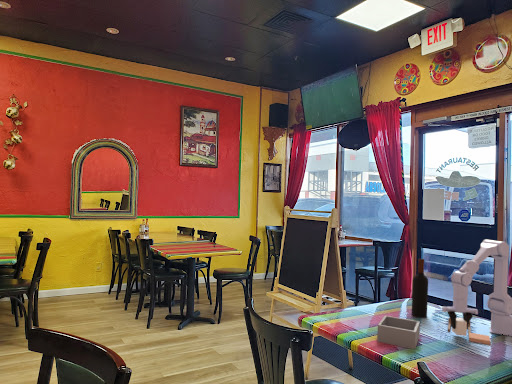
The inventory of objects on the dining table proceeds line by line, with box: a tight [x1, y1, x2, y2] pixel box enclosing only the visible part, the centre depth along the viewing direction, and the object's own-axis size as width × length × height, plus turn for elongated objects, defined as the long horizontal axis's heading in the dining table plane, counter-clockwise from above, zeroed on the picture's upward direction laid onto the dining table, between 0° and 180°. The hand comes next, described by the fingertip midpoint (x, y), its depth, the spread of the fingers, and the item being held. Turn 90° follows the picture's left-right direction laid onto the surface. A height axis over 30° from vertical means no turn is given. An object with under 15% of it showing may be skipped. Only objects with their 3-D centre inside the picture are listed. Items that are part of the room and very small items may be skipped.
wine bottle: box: [411, 258, 429, 319], centre depth 210 cm, size 8×8×30 cm
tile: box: [468, 332, 491, 345], centre depth 175 cm, size 8×8×2 cm
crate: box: [376, 315, 421, 350], centre depth 171 cm, size 15×17×7 cm
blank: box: [451, 317, 468, 337], centre depth 178 cm, size 4×6×6 cm, turn 172°
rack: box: [447, 317, 472, 336], centre depth 190 cm, size 10×14×3 cm
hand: (459, 328), depth 178 cm, fingers closed on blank, 4 cm apart
